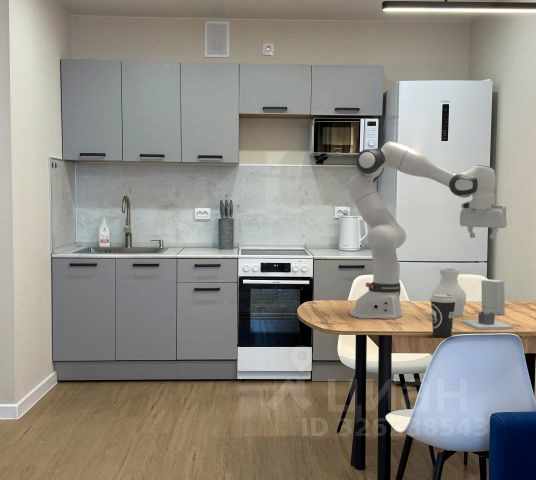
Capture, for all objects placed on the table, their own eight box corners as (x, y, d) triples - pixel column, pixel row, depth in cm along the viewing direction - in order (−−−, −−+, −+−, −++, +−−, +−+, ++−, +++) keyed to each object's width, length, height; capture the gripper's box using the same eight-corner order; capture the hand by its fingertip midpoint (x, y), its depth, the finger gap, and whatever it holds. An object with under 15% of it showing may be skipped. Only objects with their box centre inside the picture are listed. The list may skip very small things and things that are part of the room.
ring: (482, 324, 254) (483, 314, 254) (475, 321, 260) (476, 312, 260) (497, 324, 255) (497, 314, 255) (489, 321, 261) (490, 311, 261)
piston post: (478, 329, 250) (478, 314, 249) (462, 322, 263) (462, 308, 263) (511, 329, 252) (512, 313, 251) (494, 322, 265) (494, 307, 265)
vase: (426, 311, 288) (427, 267, 286) (457, 311, 289) (459, 267, 288) (438, 317, 274) (439, 270, 272) (470, 317, 275) (472, 270, 274)
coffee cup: (448, 339, 232) (449, 297, 231) (424, 335, 239) (425, 294, 238) (460, 335, 239) (461, 294, 238) (436, 331, 246) (437, 292, 245)
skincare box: (504, 314, 284) (506, 280, 283) (496, 315, 280) (497, 281, 279) (488, 311, 291) (490, 278, 290) (480, 312, 287) (481, 279, 286)
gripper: (510, 205, 260) (509, 239, 261) (466, 204, 276) (465, 236, 277) (501, 205, 256) (500, 240, 257) (457, 204, 272) (456, 237, 273)
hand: (482, 238), depth 267 cm, fingers open, 8 cm apart
